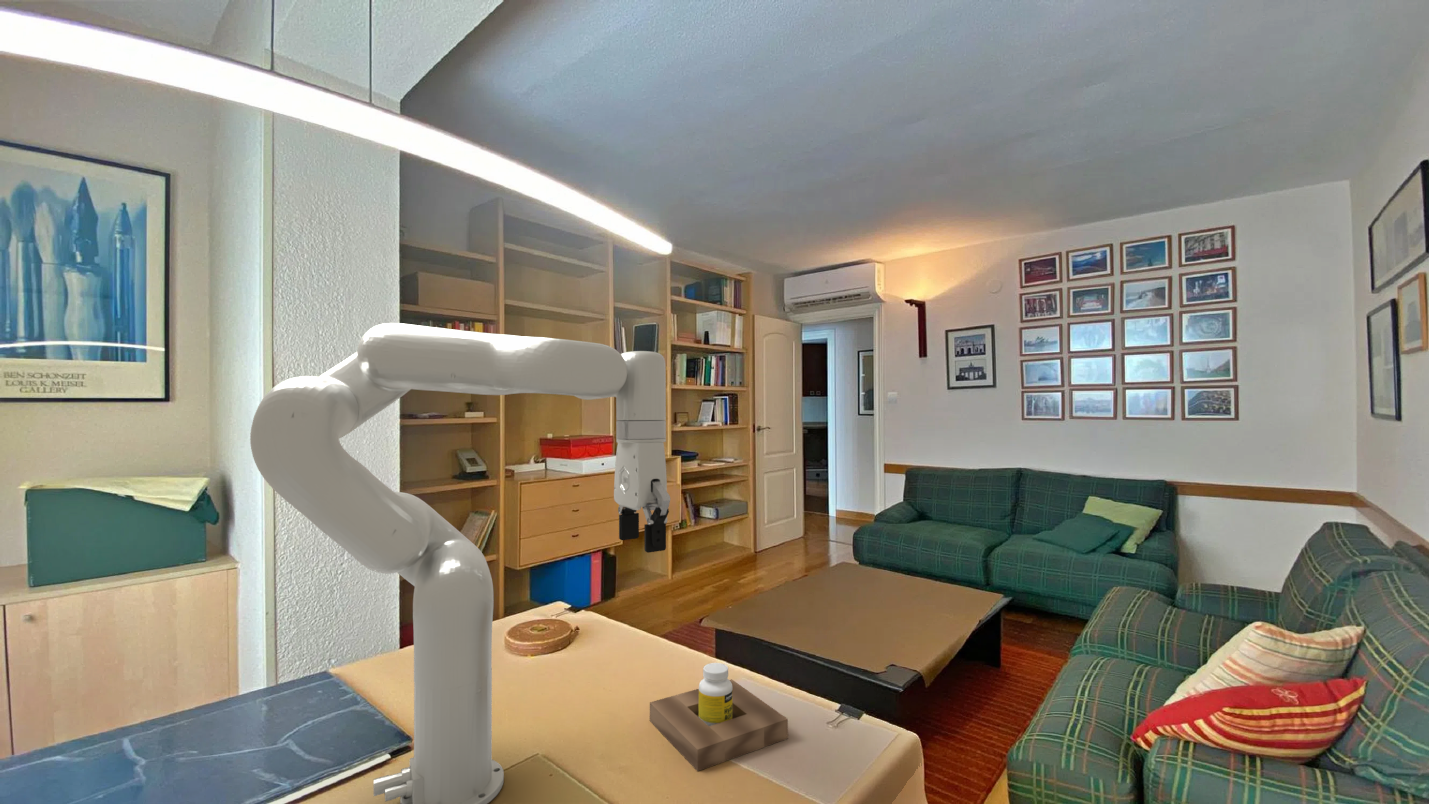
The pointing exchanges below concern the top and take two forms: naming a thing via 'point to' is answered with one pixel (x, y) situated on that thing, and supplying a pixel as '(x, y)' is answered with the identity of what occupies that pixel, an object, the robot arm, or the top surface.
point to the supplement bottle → (715, 694)
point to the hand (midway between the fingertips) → (641, 544)
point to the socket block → (717, 727)
